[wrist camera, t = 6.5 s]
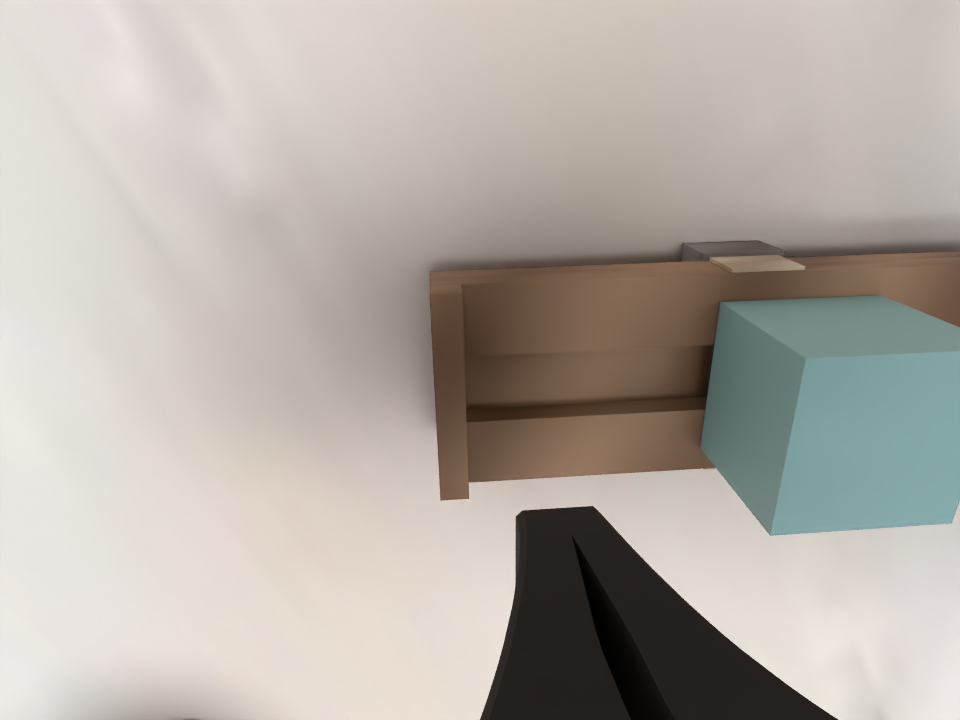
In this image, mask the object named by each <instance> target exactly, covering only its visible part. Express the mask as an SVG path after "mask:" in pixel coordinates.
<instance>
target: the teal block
mask: <svg viewBox="0 0 960 720" xmlns="http://www.w3.org/2000/svg"><path fill="white" fill-rule="evenodd" d="M700 448H701V450H702V451H703V452H704V453H705V455H706V456H707V457H708V458H709V460H710V461H711V462H712V463H713V465H714V466H715V467H716V468H717V470H718V471H719V472H720V473H721V475H722V476H723V477H724V478H725V480H726V481H727V482H728V483H729V485H730V486H731V487H732V488H733V490H734V491H735V492H736V493H737V495H738V496H739V497H740V498H741V500H742V501H743V502H744V503H745V505H746V506H747V507H748V508H749V510H750V511H751V512H752V513H753V515H754V516H755V517H756V518H757V520H758V521H759V522H760V523H761V525H762V526H763V527H764V528H765V530H766V531H767V532H768V533H769V535H770V536H771V535H786V534H800V533H815V532H830V531H845V530H859V529H874V528H889V527H903V526H918V525H933V524H948V523H952V521H953V518H954V515H955V512H956V509H957V506H958V503H959V500H960V327H957V326H955V325H953V324H950V323H948V322H945V321H943V320H940V319H938V318H935V317H933V316H931V315H928V314H926V313H923V312H921V311H918V310H916V309H914V308H911V307H909V306H906V305H904V304H901V303H899V302H896V301H894V300H892V299H889V298H887V297H884V296H882V295H873V296H850V297H826V298H803V299H779V300H756V301H732V302H720V308H719V315H718V322H717V330H716V337H715V344H714V351H713V359H712V366H711V373H710V380H709V388H708V395H707V402H706V410H705V417H704V424H703V431H702V439H701V446H700Z"/></svg>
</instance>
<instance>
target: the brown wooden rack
mask: <svg viewBox="0 0 960 720" xmlns="http://www.w3.org/2000/svg"><path fill="white" fill-rule="evenodd" d="M873 295H882V296H884V297H887V298H889V299H892V300H894V301H896V302H899V303H901V304H904V305H906V306H909V307H911V308H914V309H916V310H918V311H921V312H923V313H926V314H928V315H931V316H933V317H935V318H938V319H940V320H943V321H945V322H948V323H950V324H953V325H955V326H957V327H960V251H951V252H924V253H898V254H872V255H846V256H819V257H793V258H784V251H783V250H781V249H778V248H776V247H773V246H771V245H768V244H766V243H763V242H761V241H735V242H707V243H683V249H682V258H681V262H662V263H635V264H609V265H583V266H557V267H530V268H504V269H478V270H451V271H430V311H431V330H432V348H433V367H434V386H435V405H436V423H437V442H438V461H439V479H440V498H441V500H455V499H469V483H468V482H485V481H502V480H518V479H535V478H551V477H568V476H585V475H601V474H618V473H634V472H651V471H667V470H684V469H701V468H703V469H716V467H715V466H714V465H713V463H712V462H711V461H710V460H709V458H708V457H707V456H706V455H705V453H704V452H703V451H702V450H701V448H700V446H701V439H702V431H703V424H704V417H705V410H706V402H707V395H708V388H709V380H710V373H711V366H712V359H713V351H714V344H715V337H716V330H717V322H718V315H719V308H720V302H732V301H756V300H779V299H803V298H826V297H850V296H873Z"/></svg>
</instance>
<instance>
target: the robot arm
mask: <svg viewBox="0 0 960 720" xmlns="http://www.w3.org/2000/svg"><path fill="white" fill-rule="evenodd" d="M480 720H838V719H836V718H835V717H833V716H832V715H830V714H829V713H827V712H826V711H824V710H823V709H821V708H820V707H818V706H817V705H815V704H814V703H812V702H811V701H809V700H808V699H807V698H805V697H804V696H802V695H801V694H799V693H798V692H797V691H795V690H794V689H792V688H791V687H790V686H788V685H787V684H785V683H784V682H783V681H782V680H780V679H779V678H778V677H776V676H775V675H774V674H772V673H771V672H770V671H768V670H767V669H766V668H765V667H763V666H762V665H761V664H759V663H758V662H757V661H755V660H754V659H753V658H751V657H750V656H749V655H747V654H746V653H745V652H744V651H742V650H741V649H740V648H739V647H737V646H736V645H735V644H734V643H733V642H731V641H730V640H729V639H728V638H727V637H725V636H724V635H723V634H722V633H721V632H720V631H718V630H717V629H716V628H715V627H714V626H713V625H712V624H710V623H709V622H708V621H707V620H706V619H705V618H704V617H703V616H701V615H700V614H699V613H698V612H697V611H696V610H695V609H694V608H693V607H692V606H690V605H689V604H688V603H687V602H686V601H685V600H684V599H683V598H682V597H681V596H680V595H679V594H678V593H677V592H676V591H675V590H674V589H673V588H672V587H671V586H669V585H668V584H667V583H666V582H665V581H664V580H663V579H662V578H661V577H660V576H659V575H658V574H657V573H656V572H655V571H654V570H653V569H652V568H651V567H650V566H649V565H648V564H647V563H646V562H645V561H644V560H643V559H642V558H641V557H640V555H639V554H638V553H637V552H636V551H635V550H634V549H633V548H632V547H631V546H630V545H629V544H628V543H627V542H626V541H625V540H624V539H623V537H622V536H621V535H620V534H619V533H618V532H617V531H616V530H615V529H614V528H613V527H612V525H611V524H610V523H609V522H608V521H607V520H606V519H605V518H604V517H603V516H602V514H601V513H600V512H599V511H598V510H597V509H596V508H594V507H593V506H588V507H572V508H556V509H540V510H524V511H522V512H520V513H519V514H518V515H517V516H516V587H515V594H514V600H513V605H512V610H511V615H510V619H509V623H508V628H507V632H506V636H505V641H504V645H503V649H502V652H501V656H500V660H499V663H498V667H497V670H496V673H495V677H494V680H493V683H492V686H491V689H490V692H489V696H488V699H487V702H486V705H485V708H484V710H483V713H482V716H481V718H480Z"/></svg>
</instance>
